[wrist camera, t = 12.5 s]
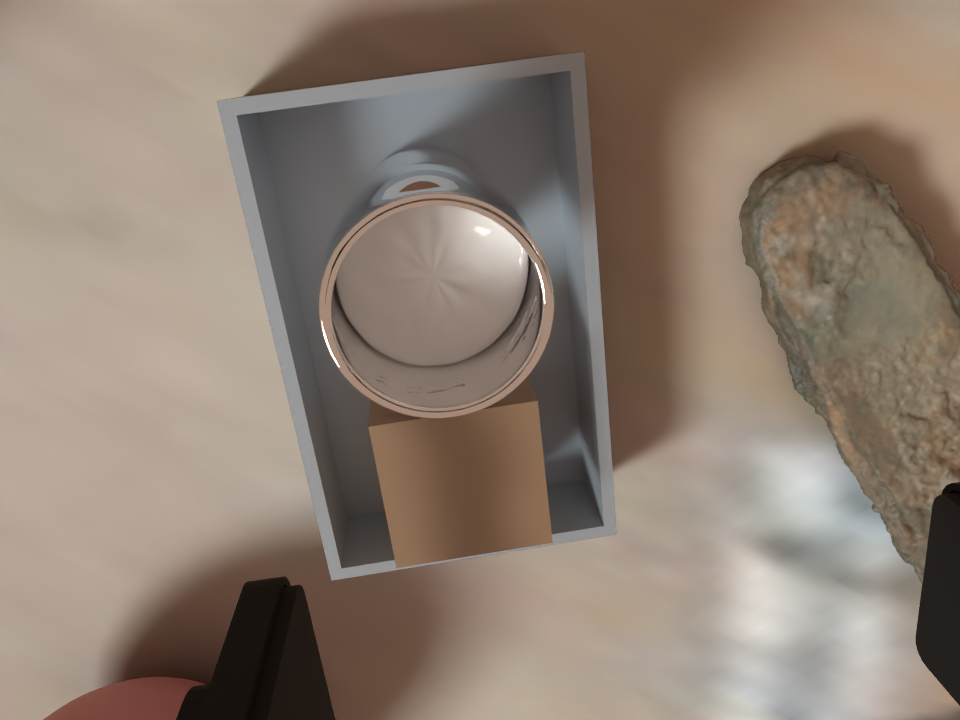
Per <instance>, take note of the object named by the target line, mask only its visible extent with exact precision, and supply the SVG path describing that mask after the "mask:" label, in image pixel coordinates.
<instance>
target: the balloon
mask: <svg viewBox="0 0 960 720" xmlns="http://www.w3.org/2000/svg"><path fill="white" fill-rule="evenodd" d="M199 685H206V684H204V683H200V682H197V681H193V680H188V679H182V678H174V677H146V678H138V679H131V680H126V681H122V682H118V683H114V684H111V685H108V686H105V687H102V688H99V689H96V690H94V691H91V692H89V693H87V694H85V695H83V696H81V697H79V698H77V699H75V700H73V701H71V702H69V703H68V704H66V705H64V706H63V707H61V708H59V709H58V710H56V711H55V712H53V713H52V714H50V715H49V716H48V717H46V718H45V719H44V720H176V718H177V715H178V713H179V710H180V707H181V705H182V702H183V700H184V698H185V696H186V694H187V692H188V691H189V690H190V689H191V688H192V687H193V686H199Z"/></svg>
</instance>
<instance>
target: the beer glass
mask: <svg viewBox="0 0 960 720" xmlns="http://www.w3.org/2000/svg"><path fill="white" fill-rule="evenodd" d="M554 307H555V302H554V290H553V283H552V279H551V275H550V272H549V269H548V266H547V264H546V261H545V259H544V257H543V255H542V253H541V251H540V249H539V246H538V244H537V241H536V239H535V237H534V235H533V232H532V230H531V229H530V227H529V225H528V223H527V222H526V220H525V219H524V217H523V215H522V214H521V212H520V211H519V210H518V208H517V207H516V206H515V204H514V203H513V202H512V201H511V200H510V199H509V198H508V197H507V196H506V195H505V194H504V193H503V192H502V191H501V190H500V189H498V188H497V187H496V186H495V185H494V184H492V183H491V182H490V181H488V180H487V179H485V178H484V177H482V176H480V175H478V174H477V173H475V172H474V170H473V169H472V168H471V167H470V166H469V165H468V164H466V163H465V162H464V161H463V160H461V159H460V158H458V157H456V156H455V155H453V154H450V153H448V152H445V151H442V150H439V149H434V148H413V149H408V150H404V151H401V152H398V153H396V154H394V155H392V156H390V157H388V158H387V159H385V160H384V161H383V162H381V163H380V164H379V165H378V166H377V167H376V168H375V169H374V170H373V172H372V173H371V174H370V176H369V177H368V178H367V180H366V182H365V184H364V186H363V188H362V189H361V190H360V191H359V192H358V193H357V194H356V195H355V196H354V197H353V199H352V200H351V201H350V202H349V204H348V205H347V207H346V208H345V210H344V211H343V213H342V214H341V216H340V218H339V219H338V221H337V223H336V225H335V227H334V229H333V232H332V234H331V237H330V240H329V244H328V247H327V251H326V254H325V259H324V265H323V273H322V282H321V287H320V294H319V319H320V326H321V331H322V334H323V338H324V341H325V344H326V347H327V349H328V351H329V353H330V355H331V357H332V359H333V361H334V363H335V364H336V366H337V367H338V369H339V370H340V372H341V373H342V374H343V376H344V377H345V378H346V379H347V380H348V381H349V382H350V383H351V384H352V385H353V386H354V387H355V388H356V389H357V390H358V391H359V392H361V393H362V394H363V395H365V396H366V397H367V398H369V399H370V400H372V401H374V402H375V403H377V404H379V405H381V406H383V407H385V408H387V409H390V410H392V411H395V412H398V413H401V414H404V415H408V416H413V417H420V418H432V419H440V418H452V417H458V416H463V415H467V414H471V413H474V412H477V411H479V410H482V409H484V408H487V407H489V406H491V405H493V404H495V403H496V402H498V401H500V400H501V399H503V398H504V397H506V396H507V395H509V394H510V393H511V392H512V391H514V390H515V389H516V388H517V387H518V386H519V385H520V384H521V383H522V382H523V381H524V380H525V379H526V378H527V377H528V376H529V374H530V373H531V372H532V371H533V369H534V368H535V366H536V365H537V363H538V362H539V360H540V358H541V356H542V354H543V352H544V350H545V348H546V346H547V343H548V340H549V337H550V334H551V330H552V325H553V319H554Z"/></svg>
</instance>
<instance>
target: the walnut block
mask: <svg viewBox="0 0 960 720" xmlns="http://www.w3.org/2000/svg"><path fill="white" fill-rule="evenodd" d="M368 428H369V433H370V438H371V443H372V448H373V453H374V458H375V463H376V468H377V473H378V478H379V483H380V488H381V493H382V498H383V503H384V508H385V513H386V518H387V523H388V528H389V533H390V538H391V543H392V548H393V553H394V558H395V563H396V568H400V567H406V566H412V565H419V564H425V563H431V562H437V561H443V560H449V559H456V558H462V557H468V556H474V555H480V554H486V553H493V552H499V551H505V550H511V549H517V548H523V547H530V546H536V545H542V544H548V543H553V541H552V532H551V522H550V512H549V503H548V493H547V484H546V474H545V465H544V455H543V446H542V436H541V427H540V417H539V408H538V400H537V398H536V395H535V393H534V390H533V388H532V385H531V383H530V380H529V378H528V377H527V378H526V379H525V380H524V381H523V382H522V383H521V384H520V385H519V386H518V387H517V388H516V389H515V390H514V391H512V392H511V393H510V394H509V395H507V396H506V397H504V398H503V399H501V400H500V401H498V402H496V403H495V404H493V405H491V406H489V407H487V408H484V409H482V410H479V411H477V412H474V413H471V414H467V415H463V416H458V417H452V418H440V419H432V418H420V417H413V416H408V415H404V414H401V413H398V412H395V411H392V410H390V409H387V408H385V407H383V406H381V405H379V404H377V403H375V402H374V401H372V400H371V405H370V415H369V425H368Z"/></svg>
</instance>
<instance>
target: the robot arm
mask: <svg viewBox="0 0 960 720" xmlns="http://www.w3.org/2000/svg"><path fill="white" fill-rule="evenodd" d="M916 646H917V650H918V653H919V655H920V657H921V659H922V661H923V663H924V664H925V665H926V667H927V668H928V669H929V670H930V671H931V673H932V674H933V675H934V676H935V677H936V678H937V680H938V681H939V682H940V683H941V684H942V685H943V687H944V688H945V689H946V690H947V691H948V692H949V694H950V695H951V696H952V697H953V698H954V700H955V701H956V702H957V703H958V704H959V705H960V482H956V483H950V484H948V485H946V486H945V488H944V489H943V490H942V494H941V495H939V496H936V498H935V499H934V501H933V505H932V513H931V521H930V528H929V536H928V544H927V552H926V560H925V568H924V576H923V584H922V592H921V599H920V607H919V615H918V623H917V631H916ZM176 720H335V717H334V713H333V709H332V705H331V700H330V696H329V692H328V688H327V684H326V680H325V676H324V671H323V667H322V663H321V659H320V655H319V651H318V646H317V642H316V638H315V634H314V630H313V626H312V622H311V617H310V613H309V609H308V605H307V601H306V597H305V593H304V589H303V587H302V586H301V585H295V586H290V583H289V581H288V579H287V578H286V577H278V578H271V579H264V580H256V581H249V582H246V583H245V584H244V586H243V589H242V591H241V594H240V597H239V600H238V603H237V606H236V609H235V612H234V615H233V618H232V621H231V624H230V627H229V630H228V633H227V636H226V639H225V642H224V645H223V648H222V651H221V654H220V657H219V660H218V663H217V665H216V668H215V671H214V674H213V677H212V680H211V683H210V684H206V685H199V686H193V687H192V688H191V689H190V690H189V691H188V692H187V694H186V696H185V698H184V700H183V702H182V705H181V707H180V710H179V713H178V715H177V718H176Z"/></svg>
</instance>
